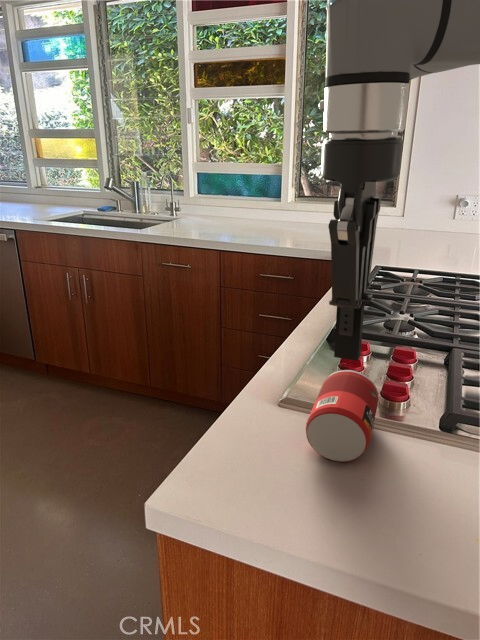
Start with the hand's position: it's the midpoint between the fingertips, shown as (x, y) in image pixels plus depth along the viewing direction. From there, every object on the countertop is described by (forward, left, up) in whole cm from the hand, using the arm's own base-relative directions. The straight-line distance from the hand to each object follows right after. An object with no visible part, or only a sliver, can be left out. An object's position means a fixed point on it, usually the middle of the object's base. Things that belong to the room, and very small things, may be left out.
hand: (347, 356), depth 53 cm
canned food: (+1, +1, -11) cm, 11 cm away
